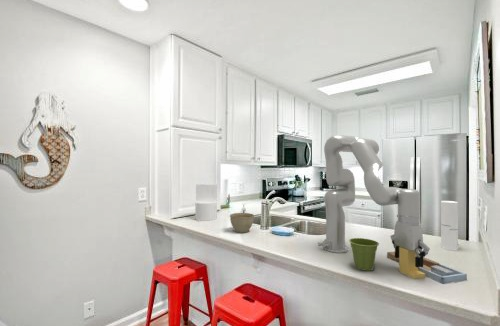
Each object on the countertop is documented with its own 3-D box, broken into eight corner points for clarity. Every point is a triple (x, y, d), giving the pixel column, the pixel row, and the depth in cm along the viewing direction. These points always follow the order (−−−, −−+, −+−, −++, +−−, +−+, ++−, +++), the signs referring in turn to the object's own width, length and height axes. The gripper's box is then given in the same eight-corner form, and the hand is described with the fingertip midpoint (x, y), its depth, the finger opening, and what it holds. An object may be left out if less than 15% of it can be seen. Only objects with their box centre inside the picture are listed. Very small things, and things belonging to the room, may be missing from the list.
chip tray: (442, 286, 92) (442, 277, 92) (417, 274, 102) (417, 266, 102) (466, 282, 95) (466, 274, 95) (440, 271, 105) (440, 263, 105)
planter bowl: (256, 233, 161) (256, 217, 162) (230, 234, 159) (230, 217, 159) (251, 227, 177) (251, 212, 177) (229, 228, 175) (229, 212, 175)
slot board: (418, 274, 102) (418, 265, 102) (387, 259, 118) (387, 252, 118) (439, 271, 105) (439, 263, 105) (405, 257, 121) (405, 250, 121)
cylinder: (199, 216, 215) (199, 183, 215) (218, 216, 213) (219, 183, 214) (192, 220, 198) (192, 185, 198) (214, 221, 196) (214, 185, 196)
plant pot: (382, 267, 109) (382, 241, 109) (373, 276, 101) (373, 248, 101) (355, 260, 117) (355, 236, 118) (344, 267, 109) (344, 241, 109)
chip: (446, 281, 95) (446, 272, 95) (438, 277, 98) (438, 269, 98) (453, 280, 96) (453, 271, 96) (444, 276, 99) (444, 268, 99)
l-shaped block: (414, 281, 96) (414, 252, 96) (399, 273, 103) (399, 246, 103) (425, 280, 97) (425, 251, 98) (409, 272, 104) (409, 245, 104)
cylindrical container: (442, 245, 140) (442, 200, 140) (458, 248, 134) (458, 201, 135) (439, 248, 135) (439, 201, 135) (457, 251, 129) (457, 203, 130)
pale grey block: (438, 277, 98) (438, 269, 98) (430, 274, 101) (430, 266, 101) (444, 276, 99) (444, 268, 99) (436, 273, 102) (436, 265, 102)
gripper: (384, 215, 109) (384, 255, 109) (420, 225, 92) (420, 271, 92) (398, 215, 111) (398, 253, 111) (436, 224, 94) (436, 269, 94)
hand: (408, 262), depth 102 cm, fingers open, 9 cm apart
